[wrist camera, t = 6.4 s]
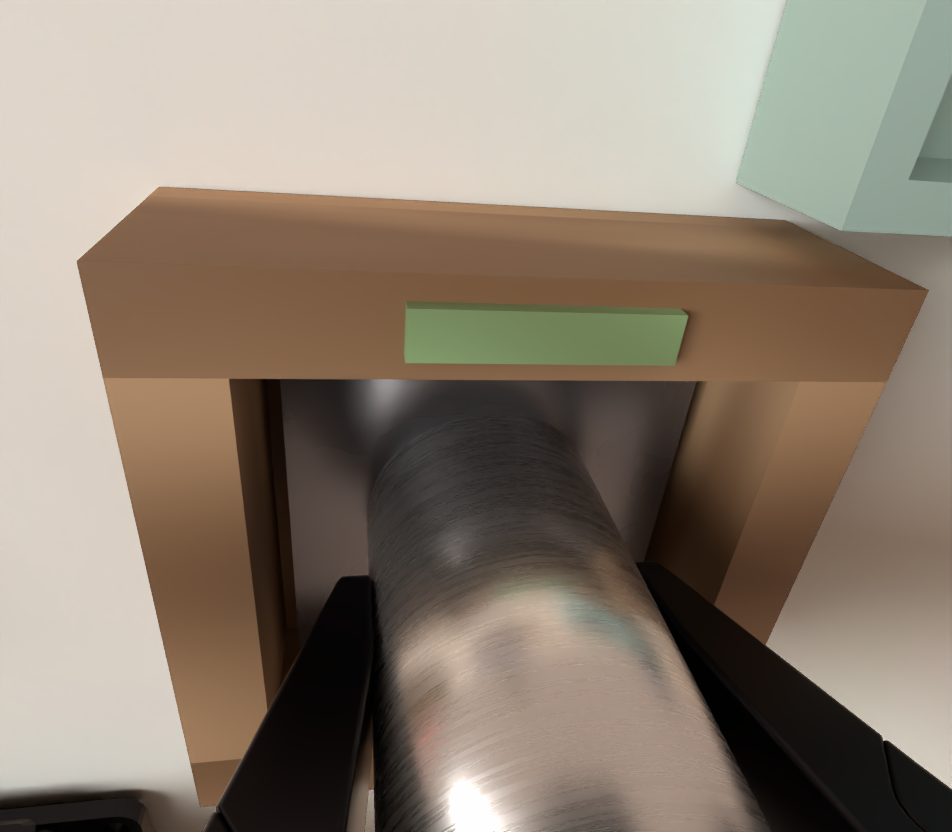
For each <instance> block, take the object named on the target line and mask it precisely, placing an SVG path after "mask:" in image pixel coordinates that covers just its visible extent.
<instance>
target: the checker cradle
mask: <svg viewBox="0 0 952 832" xmlns="http://www.w3.org/2000/svg"><path fill="white" fill-rule="evenodd" d="M77 265H78V269H79V274H80V278H81V283H82V287H83V292H84V296H85V300H86V305H87V309H88V314H89V318H90V322H91V327H92V331H93V336H94V340H95V345H96V349H97V353H98V358H99V362H100V367H101V371H102V375H103V380H104V384H105V389H106V393H107V397H108V402H109V406H110V411H111V415H112V420H113V424H114V428H115V433H116V437H117V442H118V446H119V450H120V455H121V459H122V464H123V468H124V473H125V477H126V481H127V486H128V490H129V495H130V499H131V503H132V508H133V512H134V517H135V521H136V526H137V530H138V534H139V539H140V543H141V548H142V552H143V556H144V561H145V565H146V570H147V574H148V579H149V583H150V587H151V592H152V596H153V601H154V605H155V609H156V614H157V618H158V623H159V627H160V632H161V636H162V640H163V645H164V649H165V654H166V658H167V662H168V667H169V671H170V676H171V680H172V685H173V689H174V693H175V698H176V702H177V707H178V711H179V715H180V720H181V724H182V729H183V733H184V738H185V742H186V746H187V751H188V755H189V760H190V764H191V768H192V773H193V777H194V782H195V786H196V790H197V795H198V799H199V804H200V807H208V806H217V804H218V802H219V800H220V798H221V796H222V794H223V793H224V791H225V789H226V787H227V785H228V783H229V781H230V780H231V778H232V776H233V774H234V772H235V770H236V768H237V767H238V765H239V763H240V761H241V759H242V757H243V755H244V754H245V752H246V750H247V748H248V746H249V744H250V742H251V741H252V739H253V737H254V735H255V733H256V731H257V729H258V728H259V726H260V724H261V722H262V720H263V718H264V716H265V715H266V713H267V711H268V709H269V707H270V705H271V703H272V702H273V700H274V698H275V696H276V694H277V692H278V690H279V689H280V687H281V685H282V683H283V681H284V679H285V677H286V676H287V674H288V672H289V670H290V668H291V666H292V664H293V663H294V661H295V659H296V657H297V655H298V653H299V637H298V623H297V609H296V595H295V581H294V567H293V553H292V539H291V525H290V511H289V497H288V483H287V469H286V455H285V442H284V428H283V414H282V400H281V386H280V379H387V380H575V381H697V382H696V385H695V389H694V392H693V396H692V399H691V402H690V406H689V409H688V413H687V416H686V420H685V423H684V426H683V430H682V433H681V437H680V440H679V443H678V447H677V450H676V454H675V457H674V460H673V464H672V467H671V471H670V474H669V477H668V481H667V484H666V488H665V491H664V494H663V498H662V501H661V505H660V508H659V511H658V515H657V518H656V522H655V525H654V528H653V532H652V535H651V539H650V542H649V545H648V549H647V552H646V556H645V559H644V562H647V561H655V562H658V563H660V564H662V565H663V566H664V567H666V568H667V569H668V570H670V571H671V572H672V573H673V574H675V575H676V576H677V577H679V578H680V579H681V580H682V581H684V582H685V583H686V584H688V585H689V586H690V587H691V588H693V589H694V590H695V591H697V592H698V593H699V594H700V595H702V596H703V597H704V598H705V599H707V600H708V601H709V602H711V603H712V604H713V605H714V606H716V607H717V608H718V609H720V610H721V611H722V612H723V613H725V614H726V615H727V616H729V617H730V618H731V619H732V620H734V621H735V622H736V623H738V624H739V625H740V626H741V627H743V628H744V629H745V630H747V631H748V632H749V633H750V634H752V635H753V636H754V637H756V638H757V639H758V640H759V641H761V642H762V643H763V644H765V645H766V642H767V640H768V638H769V636H770V634H771V632H772V629H773V627H774V625H775V623H776V621H777V619H778V616H779V614H780V612H781V610H782V608H783V606H784V603H785V601H786V599H787V597H788V595H789V593H790V590H791V588H792V586H793V584H794V582H795V580H796V577H797V575H798V573H799V571H800V569H801V567H802V564H803V562H804V560H805V558H806V556H807V554H808V551H809V549H810V547H811V545H812V543H813V540H814V538H815V536H816V534H817V532H818V530H819V527H820V525H821V523H822V521H823V519H824V517H825V514H826V512H827V510H828V508H829V506H830V504H831V501H832V499H833V497H834V495H835V493H836V491H837V488H838V486H839V484H840V482H841V480H842V478H843V475H844V473H845V471H846V469H847V467H848V465H849V462H850V460H851V458H852V456H853V454H854V452H855V449H856V447H857V445H858V443H859V441H860V438H861V436H862V434H863V432H864V430H865V428H866V425H867V423H868V421H869V419H870V417H871V415H872V412H873V410H874V408H875V406H876V404H877V402H878V399H879V397H880V395H881V393H882V391H883V389H884V386H885V384H886V382H887V380H888V378H889V376H890V373H891V371H892V369H893V367H894V365H895V363H896V360H897V358H898V356H899V354H900V352H901V350H902V347H903V345H904V343H905V341H906V339H907V337H908V334H909V332H910V330H911V328H912V326H913V323H914V321H915V319H916V317H917V315H918V313H919V310H920V308H921V306H922V304H923V302H924V300H925V297H926V295H927V293H928V291H929V290H927V289H925V288H923V287H921V286H919V285H917V284H915V283H913V282H910V281H908V280H906V279H904V278H902V277H900V276H898V275H896V274H894V273H892V272H890V271H888V270H886V269H884V268H882V267H880V266H878V265H876V264H874V263H872V262H870V261H868V260H866V259H864V258H861V257H859V256H857V255H855V254H853V253H851V252H849V251H847V250H845V249H843V248H841V247H839V246H837V245H835V244H833V243H831V242H829V241H827V240H825V239H823V238H821V237H819V236H817V235H814V234H812V233H810V232H808V231H806V230H804V229H802V228H800V227H798V226H796V225H794V224H792V223H790V222H788V221H786V220H768V219H749V218H730V217H712V216H693V215H674V214H656V213H637V212H618V211H600V210H581V209H562V208H544V207H525V206H506V205H488V204H469V203H450V202H432V201H413V200H394V199H376V198H357V197H338V196H320V195H301V194H282V193H264V192H245V191H226V190H208V189H189V188H170V187H158V188H157V189H156V190H155V191H154V192H153V193H152V194H151V195H149V196H148V197H147V198H146V199H145V200H144V201H143V202H142V203H141V204H140V205H138V206H137V207H136V208H135V209H134V210H133V211H132V212H131V213H130V214H129V215H127V216H126V217H125V218H124V219H123V220H122V221H121V222H120V223H119V224H117V225H116V226H115V227H114V228H113V229H112V230H111V231H110V232H109V233H108V234H106V235H105V236H104V237H103V238H102V239H101V240H100V241H99V242H98V243H96V244H95V245H94V246H93V247H92V248H91V249H90V250H89V251H88V252H87V253H85V254H84V255H83V256H82V257H81V258H80V259H79V260H78V261H77ZM371 789H374V772H373V747H372V761H371V772H370V782H369V790H371Z"/></svg>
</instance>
